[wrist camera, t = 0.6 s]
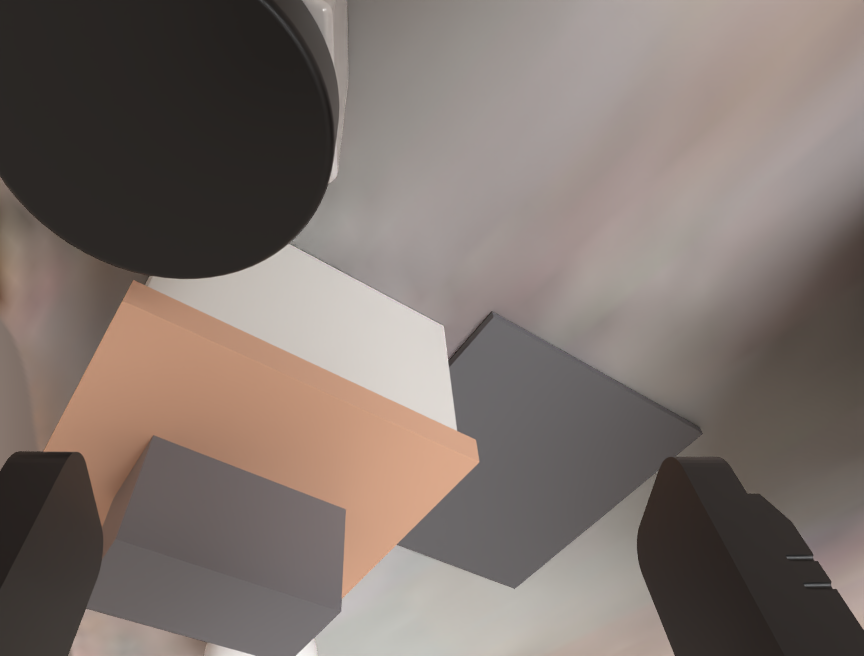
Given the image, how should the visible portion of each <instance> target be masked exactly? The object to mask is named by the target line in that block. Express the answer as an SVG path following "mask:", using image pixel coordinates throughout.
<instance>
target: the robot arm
mask: <svg viewBox="0 0 864 656" xmlns="http://www.w3.org/2000/svg"><path fill="white" fill-rule="evenodd" d="M637 553H638V560H639V565H640V569H641V572H642V574H643V577H644V580H645V582H646V585H647V587H648V590H649V592H650V595H651V597H652V600H653V602H654V605H655V607H656V610H657V612H658V615H659V617H660V620H661V622H662V625H663V627H664V630H665V632H666V635H667V637H668V640H669V642H670V645H671V647H672V650H673V652H674V655H675V656H864V630H863V629H862V627H861V626H860V624H859V623H858V621H857V620H856V618H855V617H854V615H853V614H852V612H851V611H850V609H849V608H848V606H847V604H846V603H845V601H844V600H843V598H842V597H841V595H840V594H839V592H838V591H837V589H832V587H831V580H830V579H829V577H828V576H827V574H826V573H825V571H824V570H823V568H822V567H821V565H820V564H819V562H818V561H814V560H813V553H812V552H811V550H810V549H809V547H808V546H807V544H806V543H805V541H804V540H803V538H802V537H801V535H800V534H799V532H798V531H797V529H796V528H795V526H794V525H793V523H792V522H791V521H790V520H789V519H788V518H787V517H785V516H784V515H783V514H782V513H781V512H780V511H778V510H777V509H776V508H775V507H774V506H773V505H772V504H770V503H769V502H768V501H767V500H766V499H765V498H763V497H762V496H761V495H760V494H747V493H746V491H745V489H744V488H743V486H742V485H741V483H740V481H739V480H738V478H737V476H736V475H735V473H734V472H733V470H732V468H731V467H730V466H729V464H728V463H727V462H726V461H725V460H724V459H722V458H719V457H668V458H666V459H665V460H664V461H663V462H662V464H661V466H660V469H659V472H658V474H657V477H656V480H655V483H654V486H653V489H652V492H651V495H650V497H649V500H648V503H647V506H646V509H645V512H644V515H643V518H642V520H641V523H640V526H639V530H638V536H637ZM102 556H103V531H102V526H101V522H100V518H99V514H98V510H97V506H96V502H95V498H94V493H93V489H92V485H91V481H90V477H89V473H88V469H87V465H86V462H85V459H84V457H83V455H82V454H81V453H79V452H22V451H20V452H16V453H14V454H13V455H11V457H9V458H8V460H7V461H6V463H5V464H4V466H3V468H2V469H1V471H0V656H68V654H69V651H70V649H71V646H72V643H73V641H74V638H75V636H76V633H77V630H78V628H79V625H80V623H81V620H82V617H83V615H84V612H85V609H86V607H87V604H88V602H89V599H90V596H91V594H92V591H93V589H94V586H95V583H96V581H97V578H98V575H99V571H100V567H101V562H102Z"/></svg>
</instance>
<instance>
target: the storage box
mask: <svg viewBox="0 0 864 656" xmlns="http://www.w3.org/2000/svg"><path fill="white" fill-rule="evenodd" d="M145 286H148V287H150V288H152V289H154V290H156V291H158V292H160V293H163V294H165V295H167V296H169V297H171V298H173V299H175V300H178V301H180V302H182V303H184V304H186V305H188V306H190V307H193V308H195V309H197V310H199V311H201V312H203V313H205V314H208V315H210V316H212V317H214V318H216V319H218V320H220V321H223V322H225V323H227V324H229V325H231V326H233V327H235V328H238V329H240V330H242V331H244V332H246V333H248V334H250V335H253V336H255V337H257V338H259V339H261V340H263V341H265V342H267V343H270V344H272V345H274V346H276V347H278V348H280V349H282V350H285V351H287V352H289V353H291V354H293V355H295V356H297V357H300V358H302V359H304V360H306V361H308V362H310V363H312V364H315V365H317V366H319V367H321V368H323V369H325V370H327V371H330V372H332V373H334V374H336V375H338V376H340V377H342V378H345V379H347V380H349V381H351V382H353V383H355V384H357V385H360V386H362V387H364V388H366V389H368V390H370V391H372V392H375V393H377V394H379V395H381V396H383V397H385V398H387V399H390V400H392V401H394V402H396V403H398V404H400V405H402V406H405V407H407V408H409V409H411V410H413V411H415V412H417V413H420V414H422V415H424V416H426V417H428V418H430V419H432V420H435V421H437V422H439V423H441V424H443V425H445V426H447V427H450V428H452V429H454V430H456V431H457V426H456V418H455V410H454V403H453V395H452V387H451V379H450V371H449V364H448V356H447V348H446V340H445V332H444V326H443V325H441V324H439V323H437V322H435V321H433V320H431V319H429V318H428V317H426V316H424V315H422V314H420V313H418V312H416V311H414V310H412V309H411V308H409V307H407V306H405V305H403V304H401V303H399V302H397V301H396V300H394V299H392V298H390V297H388V296H386V295H384V294H382V293H381V292H379V291H377V290H375V289H373V288H371V287H369V286H367V285H365V284H364V283H362V282H360V281H358V280H356V279H354V278H352V277H350V276H349V275H347V274H345V273H343V272H341V271H339V270H337V269H335V268H334V267H332V266H330V265H328V264H326V263H324V262H322V261H320V260H319V259H317V258H315V257H313V256H311V255H309V254H307V253H305V252H303V251H302V250H300V249H298V248H296V247H294V246H292V245H290V244H288V245H287V246H285V247H284V248H283V249H281V250H280V251H279V252H277V253H276V254H274V255H273V256H271V257H270V258H268V259H266V260H265V261H262V262H260V263H258V264H256V265H254V266H252V267H249V268H247V269H244V270H241V271H239V272H235V273H231V274H227V275H223V276H217V277H212V278H201V279H172V278H162V277H155V276H149V278H148V280H147V282H146V284H145Z"/></svg>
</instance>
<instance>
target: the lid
mask: <svg viewBox="0 0 864 656" xmlns="http://www.w3.org/2000/svg"><path fill="white" fill-rule="evenodd" d="M43 452H79V453H81V454H82V455H83V457H84V459H85V462H86V465H87V469H88V473H89V477H90V481H91V485H92V489H93V493H94V498H95V502H96V506H97V510H98V514H99V518H100V522H101V526H102V531H103V556H102V562H101V567H100V571H99V575H98V578H97V581H96V583H95V586H94V589H93V591H92V594H91V596H90V599H89V602H88V604H87V607H86V609H89V610H93V611H97V612H100V613H104V614H107V615H111V616H115V617H118V618H122V619H125V620H129V621H133V622H136V623H140V624H143V625H147V626H150V627H154V628H158V629H161V630H165V631H168V632H172V633H176V634H179V635H183V636H186V637H190V638H194V639H197V640H201V641H204V642H208V643H212V644H215V645H219V646H222V647H226V648H229V649H233V650H237V651H240V652H244V653H247V654H251V655H255V656H296V655H297V654H298V653H299V652H300V651H301V650H302V649H303V648H304V647H305V646H306V645H307V644H308V643H309V642H310V641H311V640H313V639H314V638H315V637H316V636H317V635H318V634H319V633H320V632H321V631H322V630H323V629H324V628H325V627H326V626H327V625H328V624H329V623H330V622H331V621H332V620H333V619H334V618H335V617H336V616H337V615H338V614H339V613H340V612H341V603H342V598H343V597H344V596H345V595H346V594H347V593H348V592H349V591H350V590H351V589H352V588H353V587H354V586H355V585H356V584H357V583H358V582H359V581H360V580H361V579H362V578H363V577H364V576H365V575H366V574H367V573H368V572H369V571H370V570H371V569H372V568H373V567H374V566H375V565H376V564H377V563H378V562H379V561H380V560H381V559H382V558H384V557H385V556H386V555H387V554H388V553H389V552H390V551H391V550H392V549H393V548H394V547H395V546H396V545H397V544H398V543H399V542H400V541H401V540H402V539H403V538H404V537H405V536H406V535H407V534H408V533H409V532H410V531H411V530H412V529H413V528H414V527H415V526H416V525H417V524H418V523H419V522H420V521H421V520H422V519H423V518H424V517H425V516H426V515H427V514H428V513H429V512H430V511H431V510H432V509H433V508H434V507H435V506H436V505H437V504H438V503H439V502H440V501H441V500H442V499H443V498H444V497H445V496H446V495H447V494H448V493H449V492H450V491H451V490H452V489H453V488H454V487H455V486H456V485H457V484H458V483H459V482H460V481H461V480H462V479H463V478H464V477H465V476H466V475H467V474H468V473H469V472H470V471H471V470H472V469H473V468H474V467H475V466H476V465H477V464H478V463H479V456H478V449H477V443H476V440H475V439H473V438H471V437H469V436H467V435H465V434H462V433H460V432H458V431H456V430H454V429H452V428H450V427H447V426H445V425H443V424H441V423H439V422H437V421H435V420H432V419H430V418H428V417H426V416H424V415H422V414H420V413H417V412H415V411H413V410H411V409H409V408H407V407H405V406H402V405H400V404H398V403H396V402H394V401H392V400H390V399H387V398H385V397H383V396H381V395H379V394H377V393H375V392H372V391H370V390H368V389H366V388H364V387H362V386H360V385H357V384H355V383H353V382H351V381H349V380H347V379H345V378H342V377H340V376H338V375H336V374H334V373H332V372H330V371H327V370H325V369H323V368H321V367H319V366H317V365H315V364H312V363H310V362H308V361H306V360H304V359H302V358H300V357H297V356H295V355H293V354H291V353H289V352H287V351H285V350H282V349H280V348H278V347H276V346H274V345H272V344H270V343H267V342H265V341H263V340H261V339H259V338H257V337H255V336H253V335H250V334H248V333H246V332H244V331H242V330H240V329H238V328H235V327H233V326H231V325H229V324H227V323H225V322H223V321H220V320H218V319H216V318H214V317H212V316H210V315H208V314H205V313H203V312H201V311H199V310H197V309H195V308H193V307H190V306H188V305H186V304H184V303H182V302H180V301H178V300H175V299H173V298H171V297H169V296H167V295H165V294H163V293H160V292H158V291H156V290H154V289H152V288H150V287H148V286H145V285H143V284H141V283H139V282H137V281H135V280H133V282H132V283H131V285H130V287H129V289H128V291H127V293H126V295H125V297H124V298H123V300H122V302H121V304H120V306H119V308H118V310H117V312H116V314H115V316H114V317H113V319H112V321H111V323H110V325H109V327H108V329H107V331H106V333H105V335H104V337H103V338H102V340H101V342H100V344H99V346H98V348H97V350H96V352H95V354H94V356H93V358H92V359H91V361H90V363H89V365H88V367H87V369H86V371H85V373H84V375H83V377H82V378H81V380H80V382H79V384H78V386H77V388H76V390H75V392H74V394H73V396H72V398H71V399H70V401H69V403H68V405H67V407H66V409H65V411H64V413H63V415H62V417H61V419H60V420H59V422H58V424H57V426H56V428H55V430H54V432H53V434H52V436H51V438H50V440H49V441H48V443H47V445H46V447H45V449H44V451H43Z"/></svg>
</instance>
